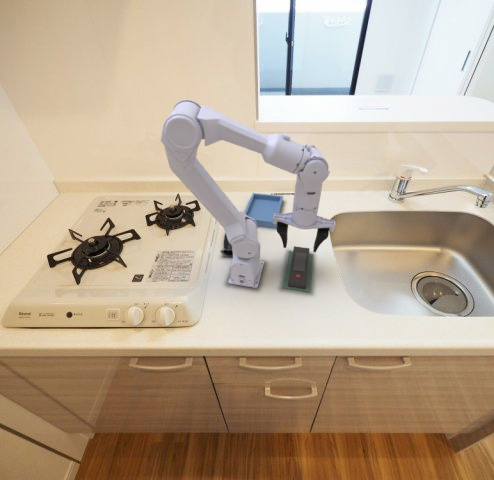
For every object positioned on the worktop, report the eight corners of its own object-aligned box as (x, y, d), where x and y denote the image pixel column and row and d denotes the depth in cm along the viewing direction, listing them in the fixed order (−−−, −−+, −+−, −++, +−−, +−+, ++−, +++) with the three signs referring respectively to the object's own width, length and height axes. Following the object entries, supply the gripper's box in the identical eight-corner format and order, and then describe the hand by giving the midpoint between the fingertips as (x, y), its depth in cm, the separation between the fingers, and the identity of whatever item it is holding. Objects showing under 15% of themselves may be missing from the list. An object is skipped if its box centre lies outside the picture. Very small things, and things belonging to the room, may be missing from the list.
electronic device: (253, 260, 77) (256, 224, 87) (250, 249, 73) (253, 212, 83) (223, 262, 79) (229, 226, 88) (218, 251, 75) (225, 214, 84)
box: (275, 228, 87) (276, 222, 85) (242, 224, 89) (241, 218, 87) (282, 201, 99) (282, 196, 97) (252, 198, 101) (252, 192, 99)
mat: (309, 292, 67) (310, 291, 66) (282, 288, 68) (282, 287, 67) (312, 255, 77) (312, 254, 77) (289, 251, 78) (289, 250, 78)
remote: (305, 289, 67) (306, 282, 65) (287, 286, 68) (288, 279, 66) (308, 254, 76) (309, 247, 75) (293, 252, 77) (293, 245, 75)
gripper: (338, 197, 60) (328, 241, 69) (277, 191, 63) (274, 234, 72) (339, 215, 55) (328, 259, 64) (272, 207, 58) (270, 251, 67)
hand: (299, 247), depth 68 cm, fingers open, 7 cm apart
